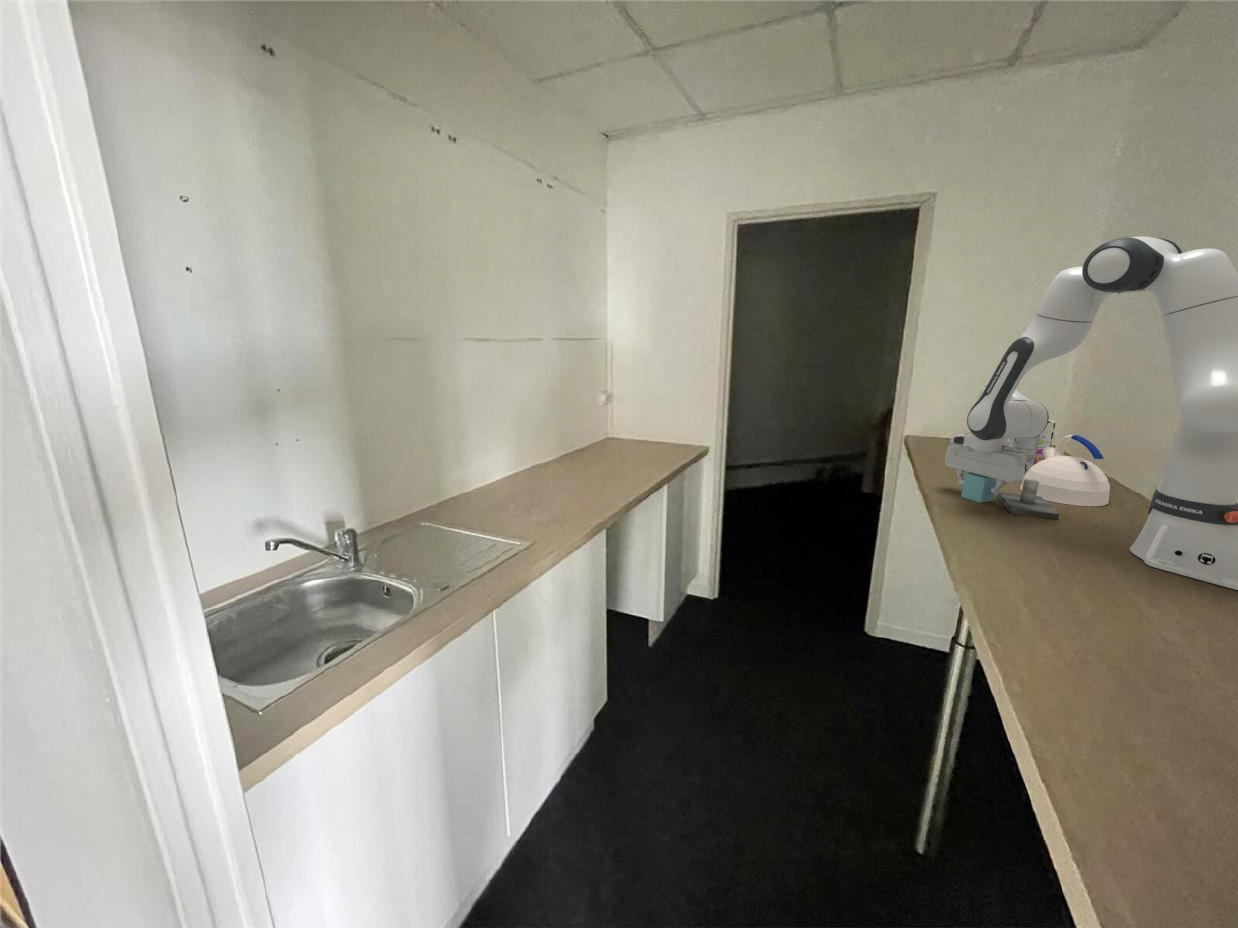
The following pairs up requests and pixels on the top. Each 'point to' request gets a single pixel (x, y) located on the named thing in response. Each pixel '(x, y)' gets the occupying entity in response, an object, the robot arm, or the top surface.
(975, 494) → the teal cube
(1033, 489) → the post stand
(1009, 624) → the top surface
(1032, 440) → the coffee box
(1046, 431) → the candy bar box
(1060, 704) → the top surface
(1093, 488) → the kettle
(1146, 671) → the top surface
